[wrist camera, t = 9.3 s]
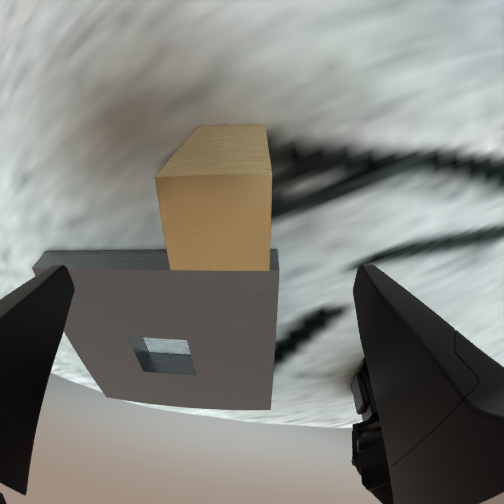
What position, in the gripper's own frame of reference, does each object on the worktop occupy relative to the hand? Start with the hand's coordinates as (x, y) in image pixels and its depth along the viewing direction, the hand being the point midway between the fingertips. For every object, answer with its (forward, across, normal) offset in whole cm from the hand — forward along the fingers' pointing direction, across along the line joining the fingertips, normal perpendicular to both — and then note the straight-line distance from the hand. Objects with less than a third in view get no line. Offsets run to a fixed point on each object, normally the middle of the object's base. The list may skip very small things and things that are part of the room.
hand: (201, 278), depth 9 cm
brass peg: (+12, 0, 0) cm, 12 cm away
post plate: (+12, +7, +17) cm, 22 cm away
